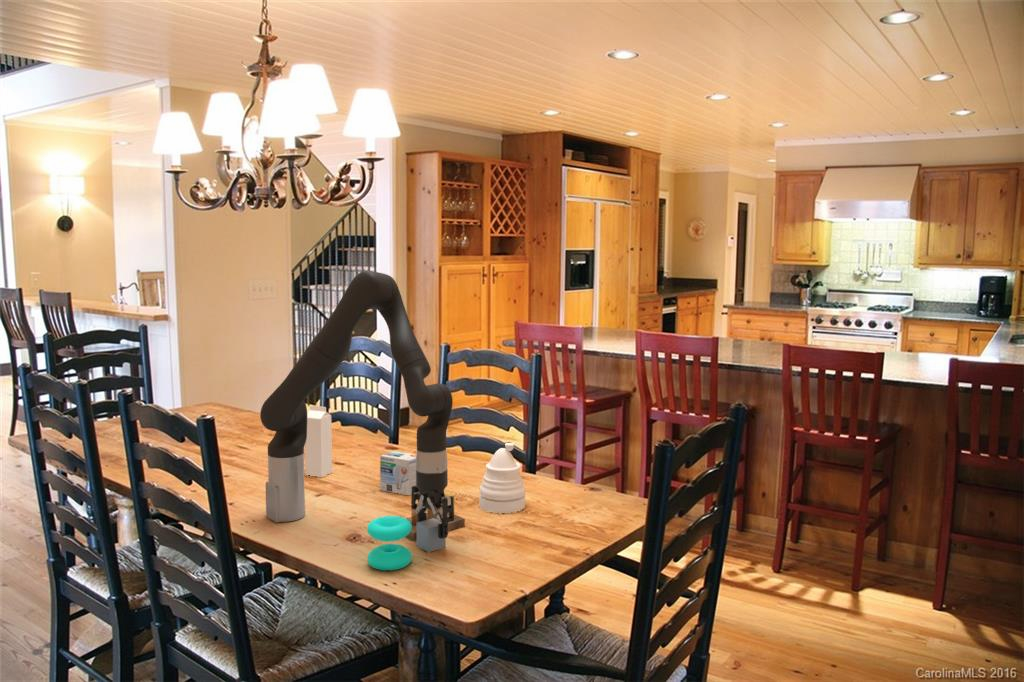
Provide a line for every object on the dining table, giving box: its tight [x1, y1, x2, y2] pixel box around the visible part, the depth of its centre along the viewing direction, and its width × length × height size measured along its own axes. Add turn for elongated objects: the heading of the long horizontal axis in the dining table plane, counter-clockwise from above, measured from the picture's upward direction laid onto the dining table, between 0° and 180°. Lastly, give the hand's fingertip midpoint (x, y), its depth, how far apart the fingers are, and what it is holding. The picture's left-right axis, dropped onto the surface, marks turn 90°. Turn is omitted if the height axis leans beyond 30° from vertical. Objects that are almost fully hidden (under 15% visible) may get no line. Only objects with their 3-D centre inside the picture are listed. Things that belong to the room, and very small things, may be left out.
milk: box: [304, 405, 333, 478], centre depth 246 cm, size 6×6×22 cm
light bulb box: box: [379, 450, 416, 496], centre depth 232 cm, size 11×7×11 cm, turn 62°
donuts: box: [366, 515, 413, 571], centre depth 178 cm, size 10×10×10 cm
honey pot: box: [478, 442, 526, 514], centre depth 218 cm, size 13×13×18 cm
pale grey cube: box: [416, 518, 447, 553], centre depth 188 cm, size 5×5×6 cm
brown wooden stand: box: [405, 490, 466, 542], centre depth 201 cm, size 16×10×8 cm, turn 131°
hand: (432, 532), depth 188 cm, fingers open, 8 cm apart
